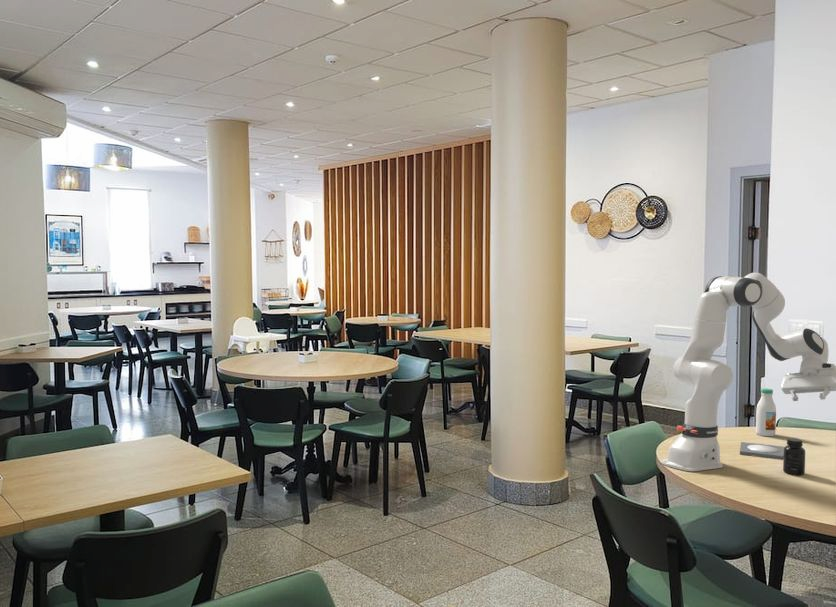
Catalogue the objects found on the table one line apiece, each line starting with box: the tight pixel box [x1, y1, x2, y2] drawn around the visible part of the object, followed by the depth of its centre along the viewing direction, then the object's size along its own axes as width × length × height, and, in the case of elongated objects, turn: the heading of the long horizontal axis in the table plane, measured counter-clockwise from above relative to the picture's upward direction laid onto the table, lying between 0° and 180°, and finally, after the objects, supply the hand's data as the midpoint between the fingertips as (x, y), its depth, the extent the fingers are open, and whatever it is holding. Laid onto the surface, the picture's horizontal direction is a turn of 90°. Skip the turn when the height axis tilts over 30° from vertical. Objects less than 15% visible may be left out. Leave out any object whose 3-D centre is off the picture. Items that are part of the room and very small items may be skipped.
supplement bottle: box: [782, 437, 806, 476], centre depth 245 cm, size 7×7×12 cm
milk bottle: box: [755, 388, 777, 437], centre depth 301 cm, size 8×8×20 cm
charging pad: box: [739, 441, 785, 460], centre depth 273 cm, size 16×16×1 cm
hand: (808, 399), depth 259 cm, fingers open, 8 cm apart
